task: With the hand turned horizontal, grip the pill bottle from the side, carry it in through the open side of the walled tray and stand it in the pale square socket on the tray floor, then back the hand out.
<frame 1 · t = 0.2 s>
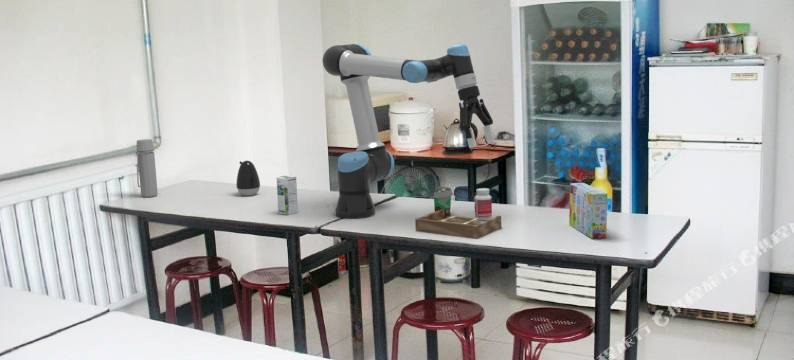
hand: (482, 145, 303), 27 cm above the table, tool tilted 15°, fingers open, 13 cm apart
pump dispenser: (248, 195, 371), on the table
walled tray: (459, 228, 295), on the table
snack box: (587, 232, 285), on the table
syrup box: (288, 213, 330), on the table
food container: (445, 216, 317), on the table
water bottle: (147, 197, 375), on the table
pill bottle: (483, 219, 309), on the table
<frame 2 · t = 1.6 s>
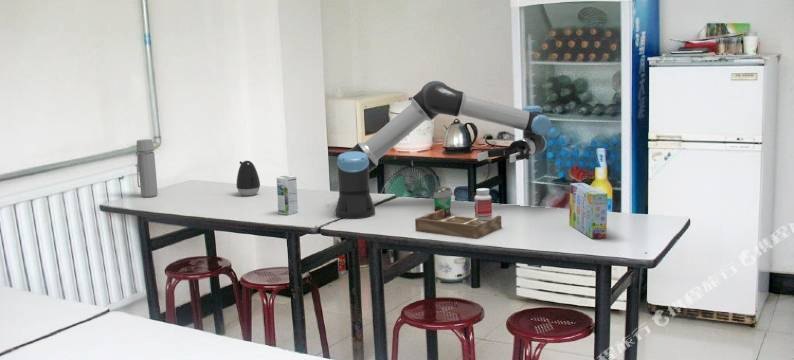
hand: (494, 158, 312), 21 cm above the table, tool horizontal, fingers open, 13 cm apart
nothing on the table moved.
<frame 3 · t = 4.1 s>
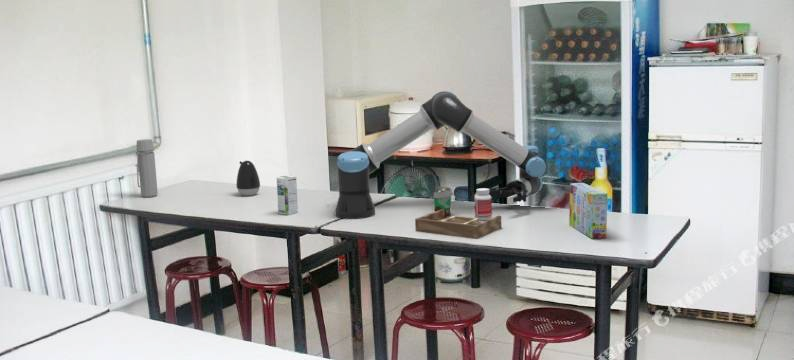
hand: (491, 199, 312), 6 cm above the table, tool horizontal, fingers open, 13 cm apart
nothing on the table moved.
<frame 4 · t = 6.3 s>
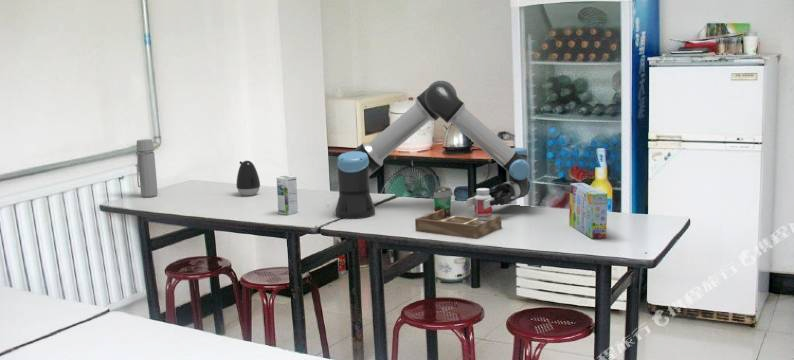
hand: (476, 204, 304), 7 cm above the table, tool horizontal, fingers closed on pill bottle, 6 cm apart
pill bottle: (483, 219, 309), on the table, touching gripper
everything else where it was.
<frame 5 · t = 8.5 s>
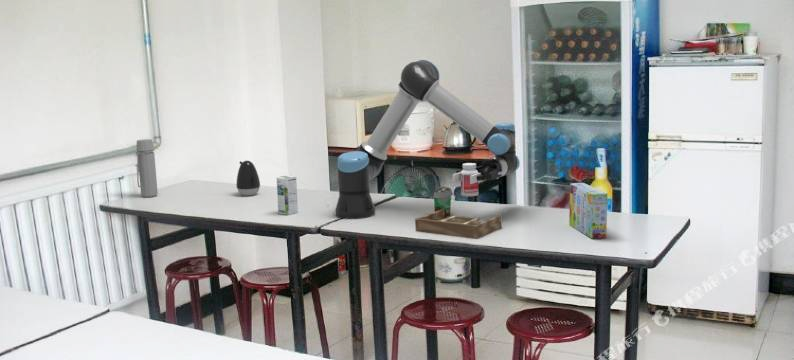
hand: (462, 179, 292), 18 cm above the table, tool horizontal, fingers closed on pill bottle, 6 cm apart
pill bottle: (469, 195, 297), point 11 cm above the table, touching gripper
everything else where it was.
when the fingers open (9 cm above the table, at t = 10.9 s): pill bottle drops 1 cm, resting on walled tray.
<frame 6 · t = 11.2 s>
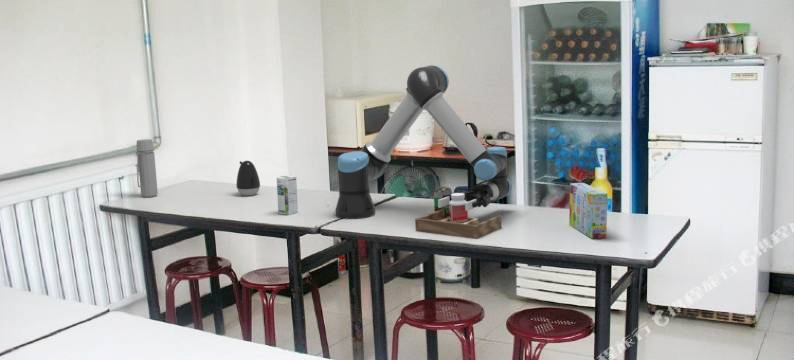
hand: (452, 205, 290), 9 cm above the table, tool horizontal, fingers open, 10 cm apart
pill bottle: (459, 225, 295), point 1 cm above the table, touching walled tray
everything else where it was.
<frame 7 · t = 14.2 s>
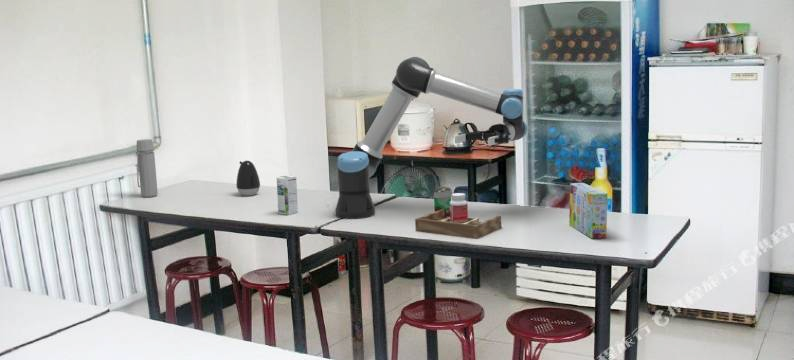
hand: (471, 140, 298), 30 cm above the table, tool horizontal, fingers open, 13 cm apart
nothing on the table moved.
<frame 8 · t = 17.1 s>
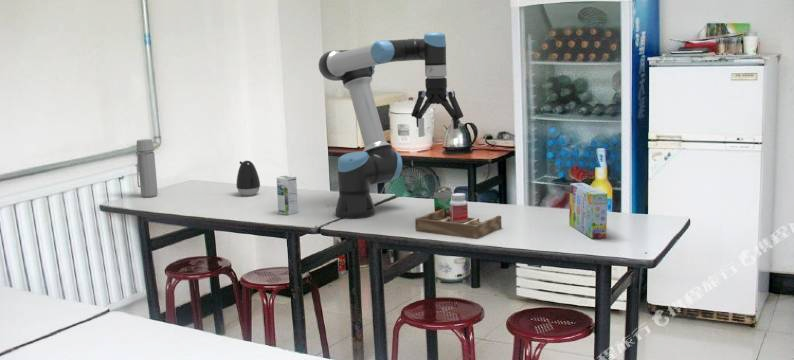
hand: (437, 137, 302), 31 cm above the table, tool pointing down, fingers open, 13 cm apart
nothing on the table moved.
at the end: pill bottle 0.1 cm from the walled tray (horizontally); pill bottle point 1.0 cm above the table; pill bottle tilted 0° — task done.
